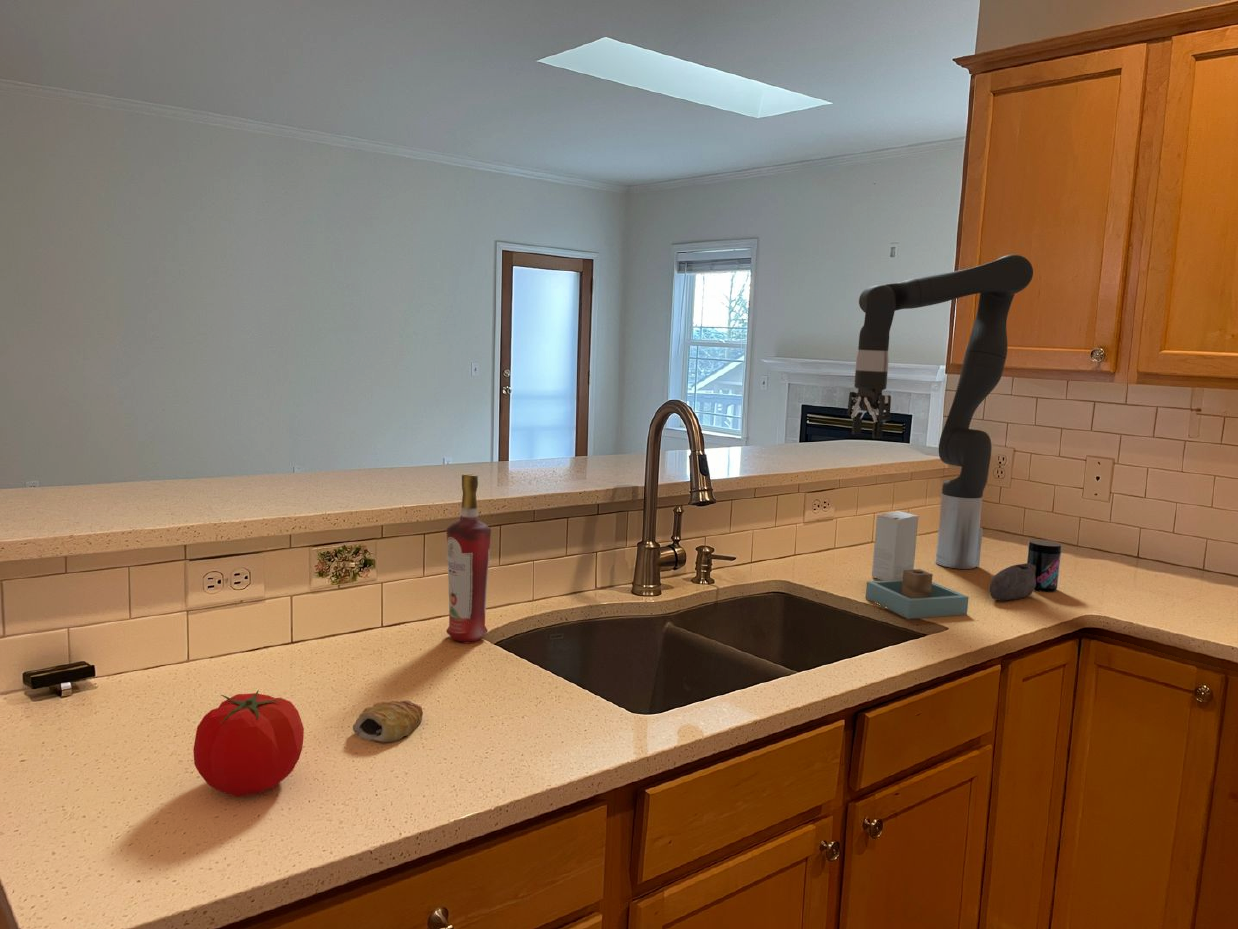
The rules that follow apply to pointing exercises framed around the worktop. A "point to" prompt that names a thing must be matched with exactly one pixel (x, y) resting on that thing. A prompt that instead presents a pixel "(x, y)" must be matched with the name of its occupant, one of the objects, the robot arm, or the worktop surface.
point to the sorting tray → (917, 600)
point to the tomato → (248, 743)
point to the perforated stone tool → (1013, 582)
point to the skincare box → (894, 545)
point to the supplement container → (1045, 563)
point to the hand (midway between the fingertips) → (866, 436)
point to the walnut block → (916, 584)
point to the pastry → (388, 721)
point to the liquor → (468, 568)
